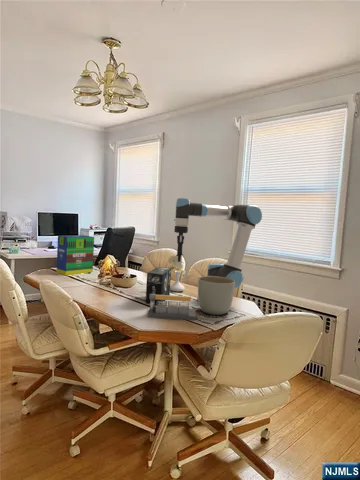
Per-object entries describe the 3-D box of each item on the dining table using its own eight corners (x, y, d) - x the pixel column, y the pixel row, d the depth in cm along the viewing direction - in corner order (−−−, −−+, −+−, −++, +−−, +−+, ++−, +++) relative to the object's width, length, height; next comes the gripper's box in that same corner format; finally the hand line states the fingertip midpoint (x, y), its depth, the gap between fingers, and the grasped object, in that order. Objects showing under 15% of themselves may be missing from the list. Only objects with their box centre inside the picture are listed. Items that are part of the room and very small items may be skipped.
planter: (205, 304, 210) (208, 274, 208) (237, 311, 199) (240, 279, 198) (189, 312, 192) (191, 279, 190) (223, 320, 181) (226, 285, 180)
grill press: (194, 312, 192) (195, 299, 192) (195, 320, 178) (196, 306, 178) (150, 309, 192) (150, 296, 191) (148, 317, 178) (148, 303, 177)
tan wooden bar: (149, 299, 182) (149, 295, 182) (149, 297, 186) (149, 293, 186) (190, 302, 183) (191, 297, 183) (190, 300, 186) (190, 296, 186)
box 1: (83, 270, 295) (84, 235, 292) (92, 272, 286) (94, 237, 284) (56, 272, 276) (57, 235, 273) (65, 275, 267) (67, 237, 265)
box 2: (161, 305, 202) (163, 274, 200) (144, 303, 203) (146, 272, 202) (170, 296, 224) (171, 268, 223) (155, 294, 226) (157, 266, 225)
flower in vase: (184, 289, 248) (186, 255, 246) (185, 293, 236) (187, 257, 234) (166, 288, 247) (168, 254, 245) (166, 291, 236) (168, 256, 234)
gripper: (174, 224, 200) (172, 264, 202) (174, 225, 186) (171, 268, 188) (187, 225, 200) (184, 265, 202) (188, 226, 186) (185, 269, 188)
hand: (178, 266), depth 195 cm, fingers closed
